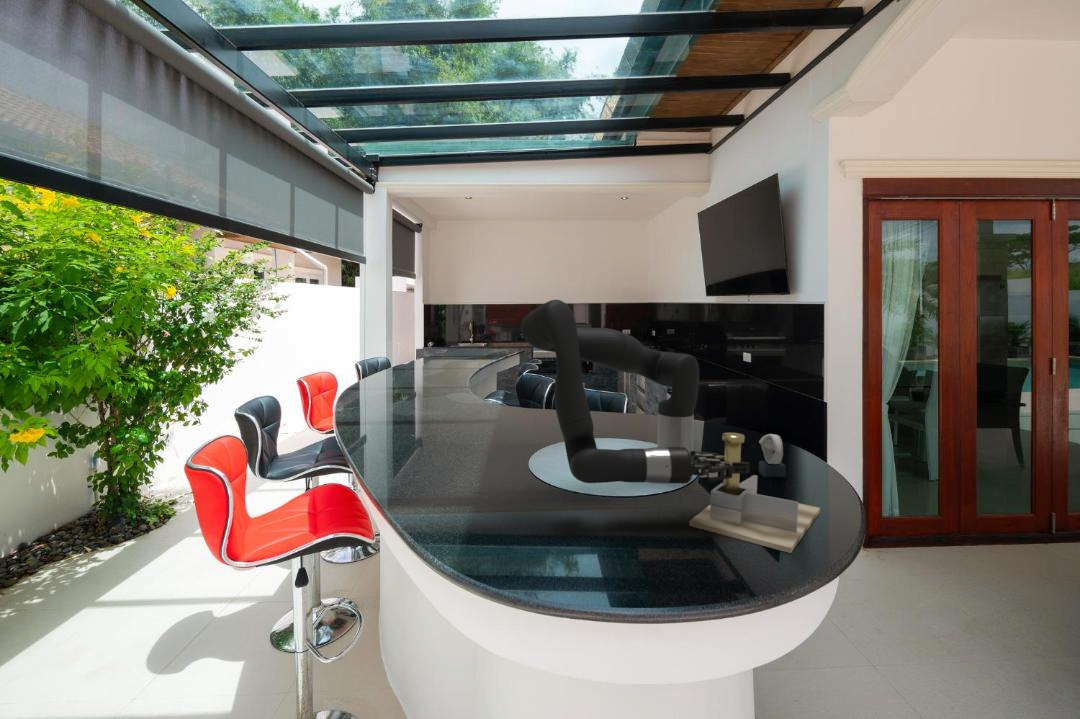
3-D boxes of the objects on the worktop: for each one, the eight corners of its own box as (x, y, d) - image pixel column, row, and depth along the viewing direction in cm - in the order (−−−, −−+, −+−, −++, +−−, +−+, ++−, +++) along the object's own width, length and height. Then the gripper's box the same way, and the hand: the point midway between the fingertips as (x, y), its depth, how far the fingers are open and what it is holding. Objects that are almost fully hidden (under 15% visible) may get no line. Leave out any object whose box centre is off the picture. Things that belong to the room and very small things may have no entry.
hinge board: (730, 492, 133) (730, 488, 133) (820, 512, 121) (820, 507, 120) (689, 525, 114) (689, 521, 113) (790, 553, 101) (790, 548, 101)
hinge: (735, 496, 128) (736, 471, 127) (810, 512, 118) (812, 486, 117) (709, 517, 115) (710, 490, 114) (791, 538, 105) (792, 509, 104)
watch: (775, 469, 150) (777, 431, 149) (788, 479, 142) (790, 438, 141) (755, 469, 151) (757, 431, 149) (767, 479, 143) (768, 438, 141)
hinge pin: (723, 502, 118) (726, 431, 117) (743, 507, 116) (747, 434, 114) (716, 508, 115) (719, 435, 113) (736, 514, 112) (740, 438, 110)
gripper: (674, 457, 106) (760, 457, 107) (657, 439, 120) (733, 439, 121) (673, 494, 107) (759, 494, 108) (656, 471, 121) (732, 471, 122)
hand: (745, 465), depth 114 cm, fingers closed on hinge pin, 3 cm apart
